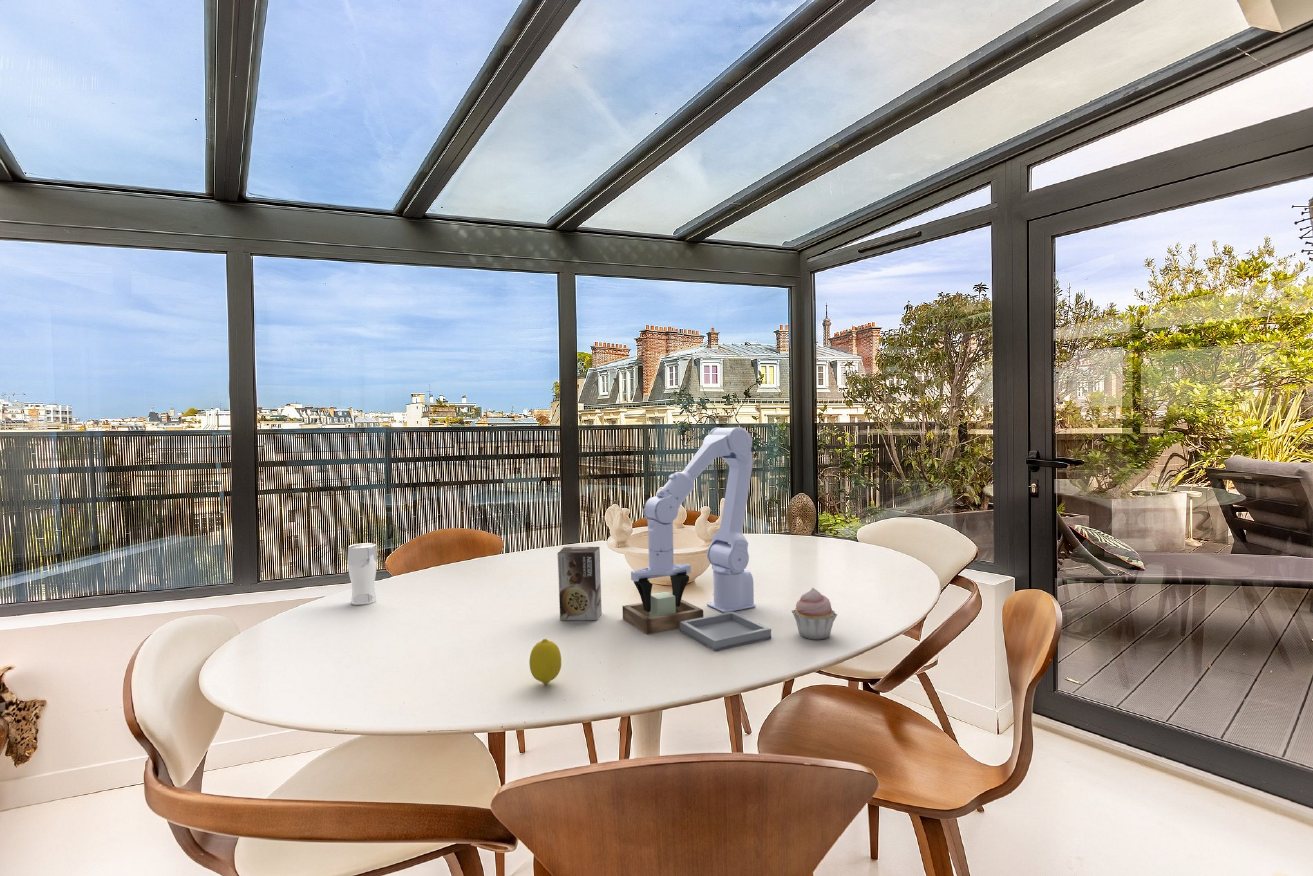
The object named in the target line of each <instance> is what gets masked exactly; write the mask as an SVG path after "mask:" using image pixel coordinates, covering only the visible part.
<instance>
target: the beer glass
mask: <svg viewBox="0 0 1313 876" xmlns="http://www.w3.org/2000/svg"><path fill="white" fill-rule="evenodd" d="M376 546H377V545H376V543H373V542H365V543H354V544H351V545H348V547H347V570H348V575H349V579H350V584H351V590H352V591H351V599H350V604H351V605H352V606H365V605H371V604H373V603H375V602H376V601H377V595H376V591H375V581H376V576H377V575H376V574H377V570H378V569H377V566H378V556H377V547H376Z"/></svg>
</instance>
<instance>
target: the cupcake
mask: <svg viewBox="0 0 1313 876" xmlns="http://www.w3.org/2000/svg"><path fill="white" fill-rule="evenodd" d="M835 612H836V611H835V610H833V608H832V604H831V602H830V599H829V598H828V597H827V596H825V595H824V594H822V593H821V592H820V591H818V590H817V589H815V588H814V587H811V589H810V590H809V591H807V592H804V594H802V595H801V596H800V599H799V600H797V602H796V604H795V609H793V610H791V613H792V615H793V617H794V619H795V623H796V626H797V627H796V628H797V630H798V634H799V635H800V636H801V637H802V638H805V639H807V640H808V639H809V640H825V639H828V638H830V636H831V633H832V629H833V626H834V625H833V624H834V621H835V620H836V618H837V616H838V613H835Z"/></svg>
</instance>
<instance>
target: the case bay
mask: <svg viewBox="0 0 1313 876" xmlns="http://www.w3.org/2000/svg"><path fill="white" fill-rule="evenodd" d="M701 617H704V609H702V608H701V607H699V606H696V605H695V604H692V603H690V602H688V601H685V600H684V599H682V598H681V602H680V606H679V607H677V606H676V613H673V614H668V615H662V616H657V617H652V618H649V612H647V611H645V610H644V608H643V603H642V602H639V603H638V602H637V603H632V604H627V605H622V619H623V620H624V621H626V622H628V623H629V624H631V625H632V626H633V627H635V628H636V629H638V630H640V631H641V632H643V633H644V634H646V635H649V634H654V633H659V632H663V631H664V632H665V631H669V630H674V629H680V622H681V621H686V620H691V619H696V618H701Z"/></svg>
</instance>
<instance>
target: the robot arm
mask: <svg viewBox="0 0 1313 876" xmlns="http://www.w3.org/2000/svg"><path fill="white" fill-rule="evenodd" d="M752 445H753V437H752V436H751V435H750V434H749V432H748V430H746V428H743V427H740V426H737V427H719V426H718V427H714V428H712V429H711V430H710V432H709V434H708V435H706V436H705V437H704V439H703V442H702V445H700V447H699V449H698V450H697V451H696V453H695V454H694V456H693V457H692V458H691V459H690V461H689V462H688V464H686V467H684V469H683V470H682V471H676V472H674V473H671V474H669V476H668V481H666V483H665V484H664V485H663V487H662V488H661V489H659V490H658V491H656V496H653V497H652V496H651V497H649V498H648V499H647V501H646V502H645V504H644V505H645V506H644V508H642V514H643V516H644V518H645V519H646V521H647V533H648V534H647V535H648V536H647V537H648V538H647V541H648V544H647V545H648V566H647V567H645V568H641V569H637V570H633V571H632V570H631V571H630V573H631V574H630V580H631V581H633V583H634V585H635V586H636V587H635V588H636V590H638V593H639V596H640V599H641V603H643V608H644V610H645V611H647V612H650V611H651V594H652V589H653V583H652V582H650V579H656V578H662V577H663V578H664V577H670V583H671V591H672V592H671V594H672V595H674V596H675V605H676V606H677V607H679V606H680V602H681V599H682V598H683V593H684V591H685V589H686V587H687V585H688V582H689V581H690V575H688V574H691V569H692V568H691V565H690V564H688V563H682V564H681V563H680V564H675V563H674V520H676V519H677V517H678V515H679V508H680V507H681V505H682V503H683V502H684V501H685V500H687V499H686V498H688V496H689V495H690V494H691V493H692V491H693V490H694V489H695V480H696V479H697V478H698V477H699V476H700V475H701V474H702V473H703V472H704V471H705V469H706V468H707V467H708V466H709V465H710V464H711V463H712V462H713V461H714V460H715V459H716V458H722V459H723V460H724V461H725V463H726V465H728V467H729V469H728V476H727V481H726V488H725V489H726V490H725V495H724V500H723V509H722V515H721V519H720V527H719V529H718V530H717V531H716V532H715V533H714V534H713V536H712V539H711V542H710V544H709V546H708V548H707V550H706V558H707V560H708V562H709V564H711V569H712V572H713V573H712V575H713V579H712V580H713V582H712V583H713V586H712V587H713V601H710V602H707V603H706V605H707V606H709V607H711V608H714V609H715V610H717V611H719V612H721V613H727V612H732V611H733V612H735V611H739V610H740V611H741V610H745V609H752V608H756V606H757V605H756V604H755V603H754V602H755V601H754V600H755V599H754V596H755V595H754V592H755V591H754V578H753V575H752V573H751V571H750V570H749V569H748V568H747V566H748V565H749V560H750V555H749V551H748V547H749V542H748V540H747V538H746V537H745V536H744V534H743V529H744V523H745V517H746V510H747V503H748V497H749V491H750V484H751V478H752V472H753V465H754V460H753V455H752V447H753V446H752Z"/></svg>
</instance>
